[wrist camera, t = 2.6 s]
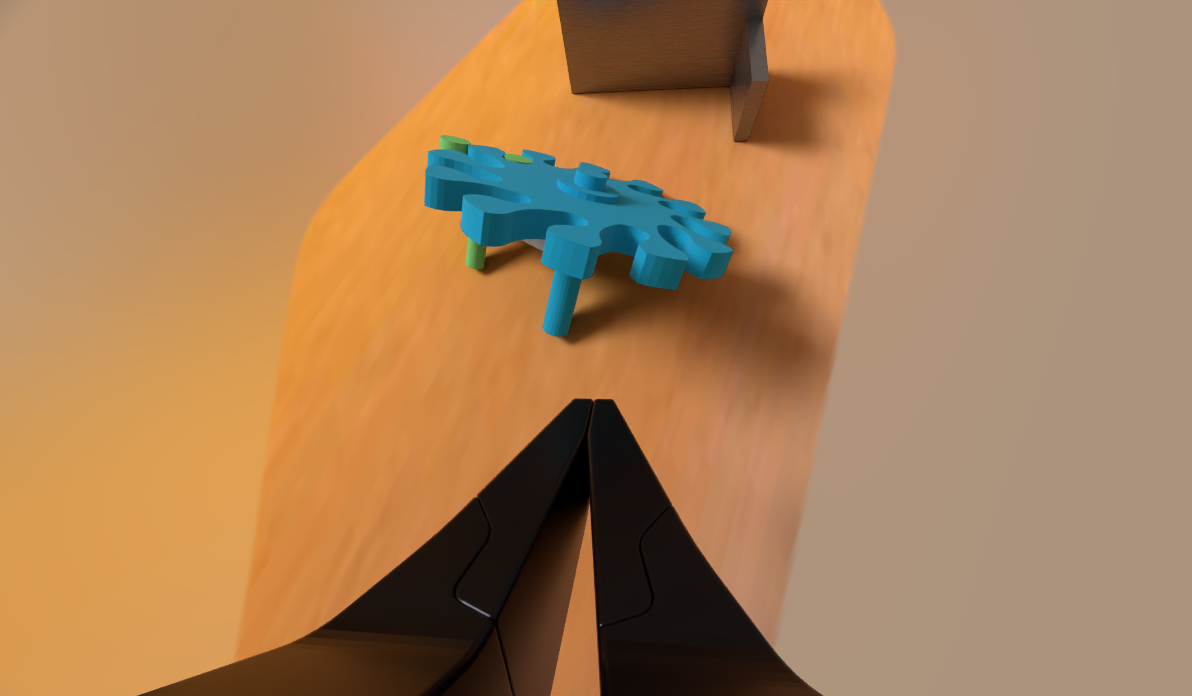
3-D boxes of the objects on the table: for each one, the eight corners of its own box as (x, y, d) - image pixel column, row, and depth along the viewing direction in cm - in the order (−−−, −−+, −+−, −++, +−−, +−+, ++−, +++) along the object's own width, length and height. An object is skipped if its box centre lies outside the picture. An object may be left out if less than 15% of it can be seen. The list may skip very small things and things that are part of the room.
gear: (775, 214, 16) (666, 267, 8) (712, 346, 19) (589, 477, 11) (543, 126, 20) (316, 103, 12) (522, 248, 23) (332, 293, 15)
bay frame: (747, 140, 19) (782, 41, 14) (569, 147, 19) (550, 54, 15) (742, 67, 20) (772, -46, 15) (572, 76, 20) (556, -30, 16)
